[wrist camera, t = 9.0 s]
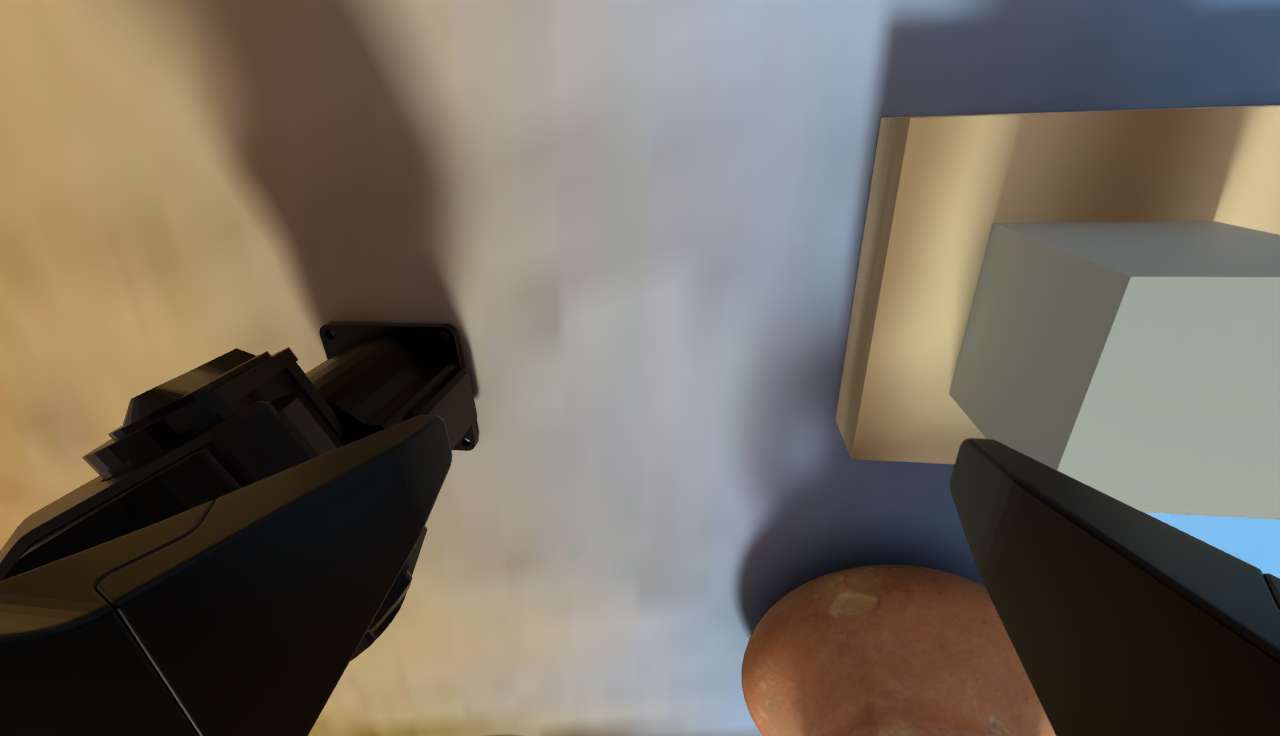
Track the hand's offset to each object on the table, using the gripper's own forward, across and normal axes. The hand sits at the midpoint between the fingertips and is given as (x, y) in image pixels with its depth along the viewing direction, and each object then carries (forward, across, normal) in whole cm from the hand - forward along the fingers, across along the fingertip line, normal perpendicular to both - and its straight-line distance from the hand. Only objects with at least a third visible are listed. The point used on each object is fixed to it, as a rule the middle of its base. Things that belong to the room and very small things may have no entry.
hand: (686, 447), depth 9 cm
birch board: (+13, -12, +1) cm, 18 cm away
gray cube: (+10, -12, +1) cm, 16 cm away
